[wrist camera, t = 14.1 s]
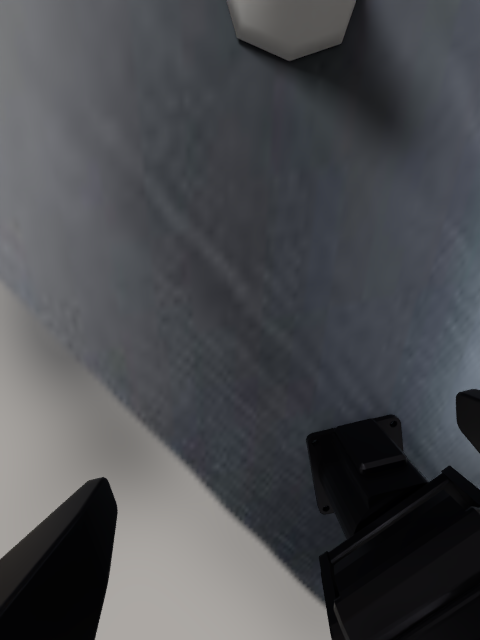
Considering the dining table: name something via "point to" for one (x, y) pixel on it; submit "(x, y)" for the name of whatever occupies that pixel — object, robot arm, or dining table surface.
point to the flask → (291, 24)
